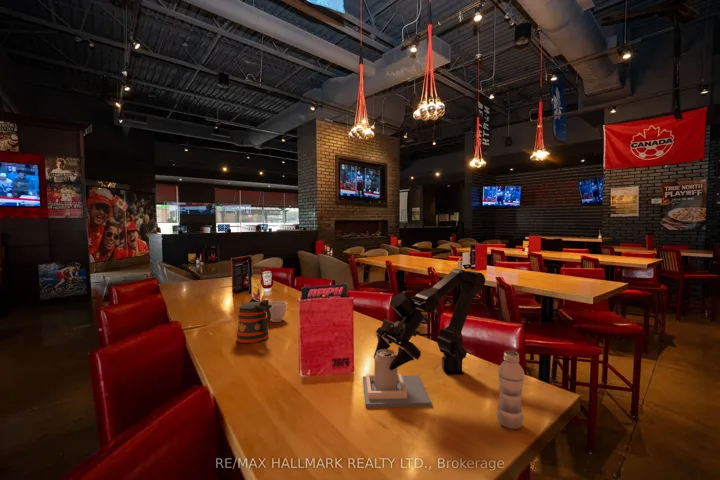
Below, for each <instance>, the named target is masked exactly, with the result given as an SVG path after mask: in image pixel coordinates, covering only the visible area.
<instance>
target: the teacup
mask: <svg viewBox="0 0 720 480" xmlns="http://www.w3.org/2000/svg"><path fill="white" fill-rule="evenodd" d="M269 305H272V308H269V310H270V313H271V319H270V320H271V322H273V323H280V322H282V321H283V318H284V317H285V315H286V309H287V305H288V302H287V301H285V300H274V301H273V300H271V301H269Z"/></svg>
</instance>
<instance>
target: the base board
mask: <svg viewBox="0 0 720 480" xmlns="http://www.w3.org/2000/svg"><path fill="white" fill-rule="evenodd" d="M374 380H375V373H366V374H365V375H363V376H362V385H363V395H364V396H363V397H364V405H365V406H364V407H365V409H370V408H371V409H372V408H373V409H374V408H375V409H376V408H378V409H379V408H409V407H410V408H412V407H413V408H414V407H415V408H418V407H420V408H421V407H423V408H424V407H433V406H432V405H433V404H432V400H431V398H430V396H429V394H428V392H427V390H426V387H425V385H424V383H423V381H422V379H421V377H420V375H418V374H417V375H402V373H397V388H396V389H395V390H394V391H379V390H378V389H376V388H375V385H374Z"/></svg>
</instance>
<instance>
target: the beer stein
mask: <svg viewBox="0 0 720 480" xmlns="http://www.w3.org/2000/svg"><path fill="white" fill-rule="evenodd" d="M269 302H270V301H269V299H263V300H261V301H249V302H242V301H241V304H240V305H239V306H238V309H239V311H238V318H237V321H238V325H237V330H236V341H237V342H238V343H240V344H253V343H259V342H262V341H265V340H267V339H268V338H269V336H270V334H269V325H270V323H271V320H272V319H271V313H270V310H269V308H272V305H269Z"/></svg>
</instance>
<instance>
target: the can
mask: <svg viewBox="0 0 720 480" xmlns="http://www.w3.org/2000/svg"><path fill="white" fill-rule="evenodd" d="M376 353H377V354H376V355H375V359H374V374H375V380H374V385H375V388H376V389H378V390H379V391H394V390H395V389H396V388H397V374H398V367H397V368H395V369H394V370H392V371H391V370H390V369H389V367H390V365H391V364H392V362H393V360H394V359H395V357H396V356H397V353H396V351H395V350H393V349H390V348H388V349H381V350H378V351H377V352H376Z"/></svg>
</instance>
